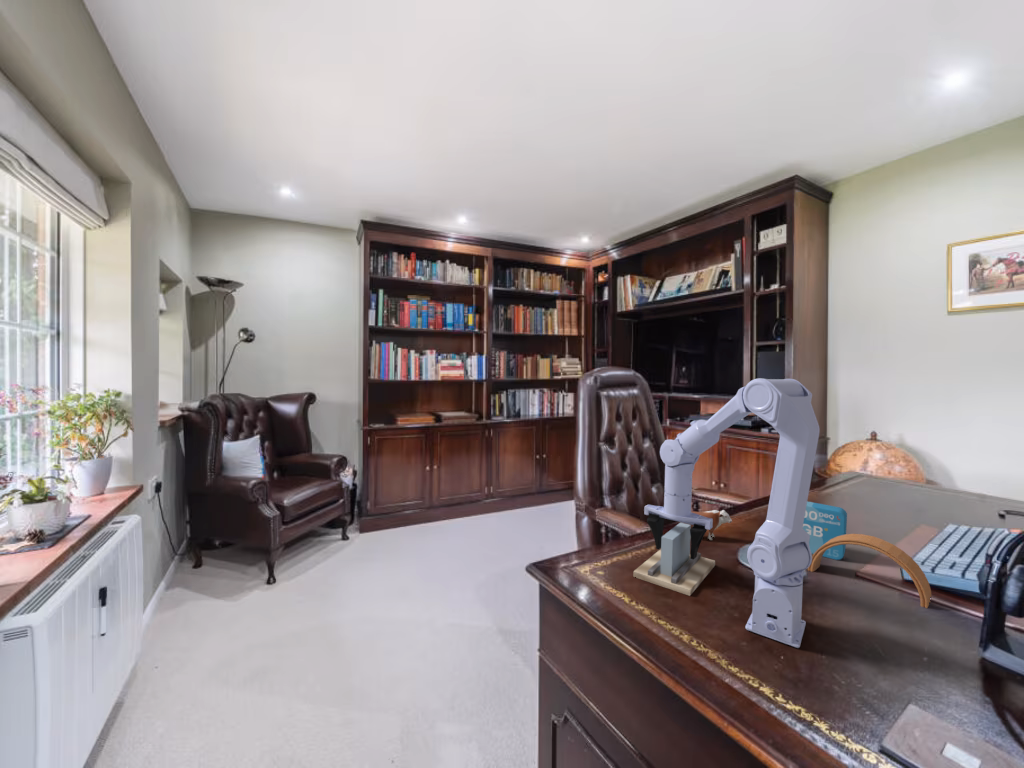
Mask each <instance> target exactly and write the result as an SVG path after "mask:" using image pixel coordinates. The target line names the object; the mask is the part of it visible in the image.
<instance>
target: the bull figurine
mask: <svg viewBox="0 0 1024 768" xmlns="http://www.w3.org/2000/svg"><path fill="white" fill-rule="evenodd" d="M691 512H692V513H695V514H698V515H701V516H704V517H707V518H711V519H713V527H712V528H711V529H710V530H708V535H707V540H708V539H709V541H713V537H714V538H716V536H715V534H714V531H715V530H717V529H718V528H719V527H720V526H722V524H726V523H728V524H731V523H733V520H732V518H731V517H730V514H729V513H728V512H727V511H726V510H725V509H722V510H717V509H713V510H709V511H708V510H707V511H692V510H691ZM681 523H683V522H681ZM685 524H687V523H685ZM689 525H691V524H689ZM693 526H694V525H691V528H692V527H693ZM711 536H712V537H711ZM690 539H691V535H690Z"/></svg>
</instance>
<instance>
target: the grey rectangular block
mask: <svg viewBox="0 0 1024 768" xmlns="http://www.w3.org/2000/svg"><path fill="white" fill-rule="evenodd" d="M690 529H691V525H689V524H685V523H681V522H679V523H678V524H676V525H675V526H673V527H672V528H671V529H670V530H669V531H667V532H666V533H665V534H663V536H662V538H661V548H660V549H661V569H660V573H661V574H664V575H667V576H670V577H672V576H673V575H674V574H675V573H676V572H677V571H678V570H679V569H680V568H681V567H682V566H683V565H684V564H685V563H686V562H687V561H688V560H689V559H690V552H691V538H690Z"/></svg>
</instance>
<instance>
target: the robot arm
mask: <svg viewBox="0 0 1024 768" xmlns="http://www.w3.org/2000/svg"><path fill="white" fill-rule="evenodd" d="M812 398H813V393H812V392H811V390H809V389H808V388H807V387H806V386H805V385H804V384H802V382H800V381H799V380H797V379H794V378H784V379H779V378H777V379H775V378H773V379H772V378H770V379H768V378H763V377H762V378H761V377H760V378H759V377H758V378H755V379H752V380H750V381H749V382H747V384H746V385H745V386H743V387H740V388H739V389H738V390H737V392H736V394H735V395H733V397H732V398H731V399H730V400H729V401H728V402H726V403H725V404H724V405H723V406H722V407H720V409H719V410H718V411H717V412H715V413H714V414H713V415H712V416H711V417H710V418H709V419H696V420H695V419H694V420H692V421H691V422H690V423H689V424H690V426H689V427H688V428H687V429H686V430H684V431H682V432H679V433H678V434H676V437H675V439H665V440H664V441H663V443H662V444H661V445H660V448H659V456H660V459H661V460H662V462H663V464H664V465H665V466H664V494H663V496H664V497H663V506H660V505H653V504H647V505H645V506H644V509H643V511H644V515H646V516H648V517H647V518H646V522H647V524H648V526H649V528H650V530H651V533H652V535H653V539H654V543H655V549H656V550H660V549H661V538H662V536H663V535H664V523H665V520H666V519H667V520H670V521H675V522H679V523H680V522H683V523H687V524H691V525H694V526H692V528H691V529H690V535H691V538H690V558H691V559H695V558H696V557H697V552H698V551H699V547H700V545H701V543H702V541H703V538H704V536H705V535H706V533H707V531H709V530H710V529H711V528H712V527H713V519H711V518H707V517H704V516H701V515H698V514H695V513H692V512H691V511H692V500H693V499H692V498H693V497H692V495H693V492H692V491H693V490H692V489H693V472H694V471H695V465H696V464H697V462H698V461H699V458H700V455H702V454H703V453H704V452H706V451H707V450H709V449H710V448H712V447H713V446H715V445H716V444H717V443H719V441H720V435H721V434H720V433H722V432H724V431H725V430H726V429H728V428H730V427H731V426H733V425H735V424H736V423H737V422H739V421H741V420H743V419H744V418H745V417H747V416H748V415H750V414H751V415H752V414H754V415H756V416H757V417H759V418H760V419H762V420H763V421H764V422H766V423H767V424H769V425H770V426H771V427H773V429H774V430H775V431H776V432H777V434H779V440H778V447H777V451H776V457H775V458H776V459H775V464H774V471H773V477H772V482H771V490H770V494H769V495H770V496H769V501H768V506H767V513H766V518H765V521H764V522H763V524H762V525H761V526H760V527H759V528H758V529H757V531H756V532H755V536H754V540H753V542H752V543H751V544H750V545H749V547H748V548H747V553H746V557H747V561H748V564H749V567H750V568H751V570H752V571H753V575H754V593H753V598H752V611H751V614H750V616H749V618H748V620H747V622H746V624H745V629H746V631H748V632H749V631H750V632H752V633H755V634H757V635H760V636H763V637H766V638H769V639H772V640H774V641H777V642H780V643H782V644H785V645H789V646H791V647H794V648H797V649H799V648H800V647H801V643H802V639H803V636H804V633H805V628H806V625H807V624H806V620H804V619H802V614H803V613H802V610H803V587H804V586H803V584H804V583H803V582H804V572H805V570H808V567H809V566H810V565H811V563H812V555H813V554H812V553H811V550H810V547H809V540H810V535H809V534H808V533H807V532H806V531H805V530H804V529H803V522H804V516H805V511H806V505H807V501H808V498H809V494H810V488H811V482H812V475H813V472H814V466H815V459H816V454H817V449H818V443H819V438H820V425H819V422H818V419H817V416H816V413H815V410H814V407H813V405H812ZM698 553H699V552H698Z"/></svg>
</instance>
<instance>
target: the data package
mask: <svg viewBox="0 0 1024 768" xmlns="http://www.w3.org/2000/svg"><path fill="white" fill-rule="evenodd" d="M847 524H848V512H847V511H846V510H845V509H844V508H843V507H839V506H834V505H830V504H829V505H828V504H824V503H817V502H813V501H808V500H807V505H806V511H805V516H804V522H803V529H804V530H805V531H806V532H807V533H808V534H809V535H810V540H809V547H810V550H811V553H812V555H813V554H814V553H815V552H816V551H817V549H819V548H820V547H821V546H822V545H824V544H825V543H826V542H828V541H829V540H830V539H833V538H835V537H837V536H841V535H845V534H847ZM846 545H847V544H844V545H837V546H833V547H831V548H829V549H827V550H826V551H825V552H824V554H823V556H822V558H823V557H824V558H827V559H831V560H834V561H839V560H842V559H843V558H844V557H845V552H846Z"/></svg>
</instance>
